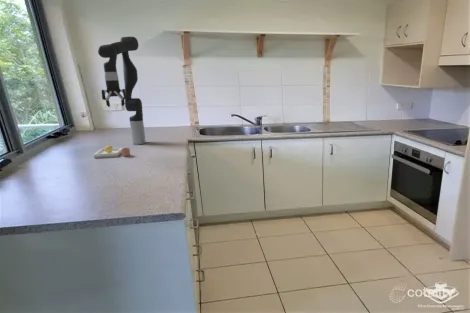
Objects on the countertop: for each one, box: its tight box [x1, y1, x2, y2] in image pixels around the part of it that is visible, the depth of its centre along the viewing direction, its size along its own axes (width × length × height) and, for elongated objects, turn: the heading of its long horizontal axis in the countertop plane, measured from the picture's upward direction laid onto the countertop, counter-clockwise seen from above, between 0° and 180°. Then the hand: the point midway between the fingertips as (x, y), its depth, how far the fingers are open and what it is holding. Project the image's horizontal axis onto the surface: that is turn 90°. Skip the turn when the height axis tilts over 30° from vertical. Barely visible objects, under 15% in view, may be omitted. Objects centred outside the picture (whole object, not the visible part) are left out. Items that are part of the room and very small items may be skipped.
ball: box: [103, 145, 114, 153], centre depth 177 cm, size 5×5×5 cm
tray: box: [93, 147, 124, 159], centre depth 178 cm, size 14×14×2 cm
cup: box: [121, 147, 131, 158], centre depth 173 cm, size 5×5×5 cm
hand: (115, 106), depth 176 cm, fingers open, 8 cm apart
